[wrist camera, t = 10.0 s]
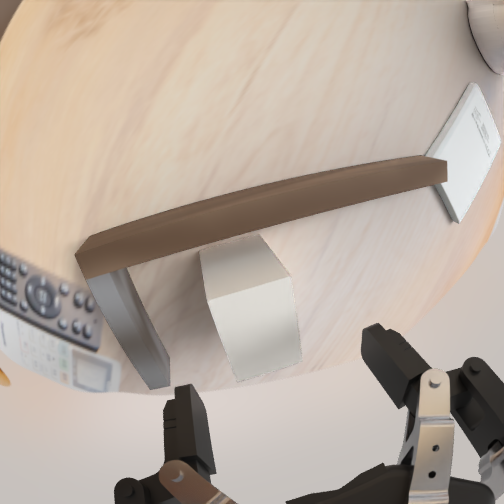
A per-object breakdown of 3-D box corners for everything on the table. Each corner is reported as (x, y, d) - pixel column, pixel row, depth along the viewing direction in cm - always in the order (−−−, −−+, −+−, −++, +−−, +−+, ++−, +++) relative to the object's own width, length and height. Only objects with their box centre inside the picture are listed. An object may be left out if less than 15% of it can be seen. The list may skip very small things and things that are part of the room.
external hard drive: (416, 161, 19) (466, 82, 17) (449, 219, 23) (492, 141, 21) (430, 164, 18) (478, 82, 16) (460, 225, 21) (503, 143, 19)
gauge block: (198, 250, 18) (206, 300, 12) (258, 233, 18) (291, 275, 13) (222, 322, 20) (237, 382, 15) (273, 307, 21) (302, 361, 15)
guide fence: (89, 236, 16) (74, 254, 13) (420, 155, 19) (447, 160, 16) (151, 362, 20) (150, 389, 18) (418, 273, 23) (438, 287, 21)
